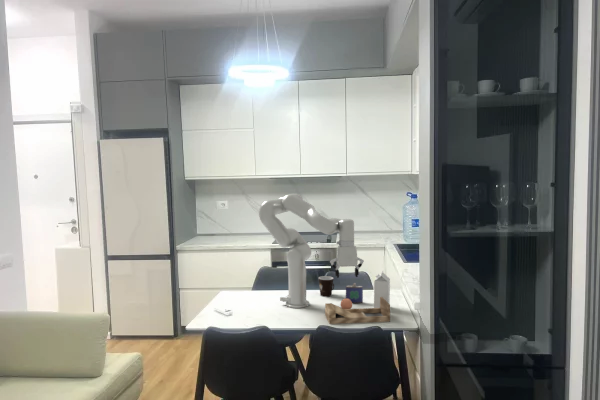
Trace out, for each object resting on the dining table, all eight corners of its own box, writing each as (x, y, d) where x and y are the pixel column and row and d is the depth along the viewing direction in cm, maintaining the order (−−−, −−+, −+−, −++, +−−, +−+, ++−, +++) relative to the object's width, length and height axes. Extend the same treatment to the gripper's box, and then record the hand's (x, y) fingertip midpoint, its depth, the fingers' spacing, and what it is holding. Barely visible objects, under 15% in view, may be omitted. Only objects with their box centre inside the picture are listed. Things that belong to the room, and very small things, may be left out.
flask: (362, 301, 226) (362, 282, 226) (363, 303, 223) (363, 284, 223) (345, 301, 227) (345, 282, 226) (345, 303, 224) (345, 283, 223)
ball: (341, 312, 209) (341, 300, 209) (339, 308, 215) (339, 297, 215) (353, 311, 210) (353, 300, 209) (350, 308, 216) (350, 296, 215)
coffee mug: (317, 293, 243) (317, 276, 242) (332, 292, 244) (332, 275, 243) (320, 299, 231) (320, 281, 231) (335, 298, 232) (335, 281, 232)
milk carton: (389, 306, 218) (389, 271, 216) (387, 311, 211) (388, 274, 210) (376, 305, 220) (376, 270, 219) (373, 309, 213) (374, 273, 212)
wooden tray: (329, 324, 193) (329, 307, 193) (325, 314, 206) (325, 299, 205) (389, 321, 196) (390, 304, 196) (381, 312, 209) (382, 297, 208)
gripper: (331, 245, 206) (331, 279, 207) (365, 244, 207) (365, 278, 208) (328, 242, 213) (328, 275, 214) (361, 241, 215) (361, 274, 216)
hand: (346, 276), depth 211 cm, fingers open, 9 cm apart
